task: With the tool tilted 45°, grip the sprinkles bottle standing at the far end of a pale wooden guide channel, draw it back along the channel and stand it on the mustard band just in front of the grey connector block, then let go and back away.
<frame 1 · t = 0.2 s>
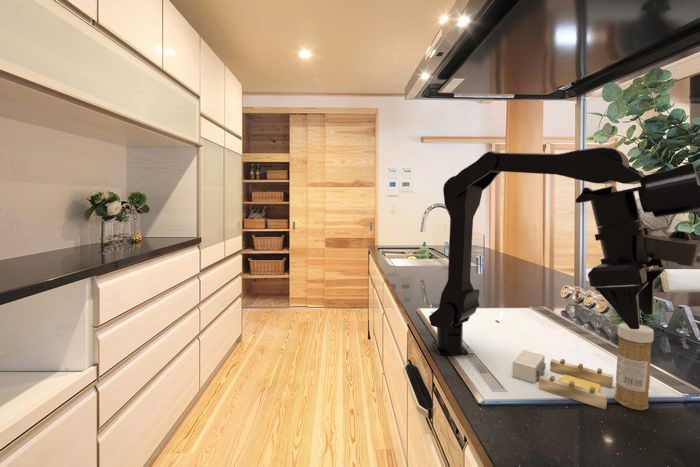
hand: (642, 321, 54), 15 cm above the counter, tool pointing down, fingers open, 9 cm apart
band: (578, 387, 64), on the counter
guide channel: (575, 386, 64), on the counter
sprinkles bottle: (630, 404, 59), on the counter
connector block: (528, 372, 69), on the counter
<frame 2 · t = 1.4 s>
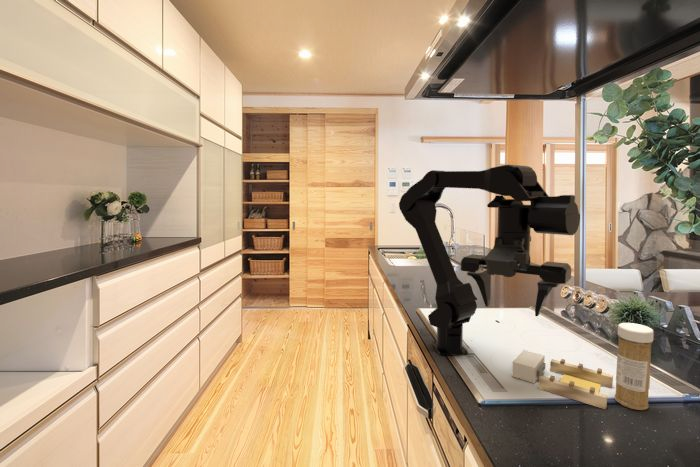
hand: (511, 310, 68), 13 cm above the counter, tool pointing down, fingers open, 9 cm apart
nothing on the counter moved.
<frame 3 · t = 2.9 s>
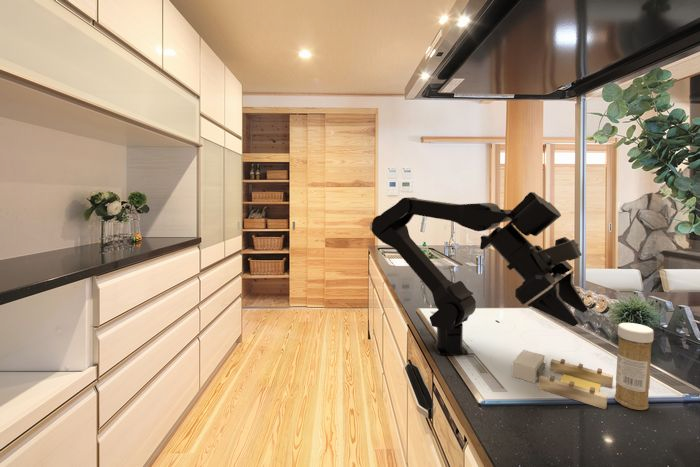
hand: (581, 317, 63), 13 cm above the counter, tool tilted 45°, fingers open, 9 cm apart
nothing on the counter moved.
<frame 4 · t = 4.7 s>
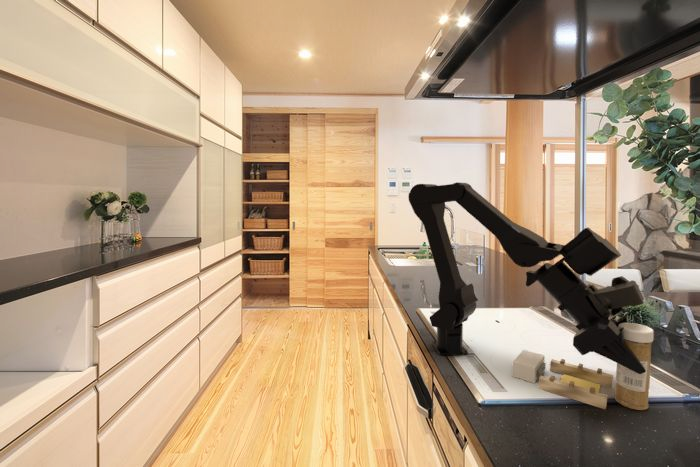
hand: (643, 367, 57), 7 cm above the counter, tool tilted 45°, fingers closed on sprinkles bottle, 4 cm apart
sprinkles bottle: (630, 404, 59), on the counter, touching gripper
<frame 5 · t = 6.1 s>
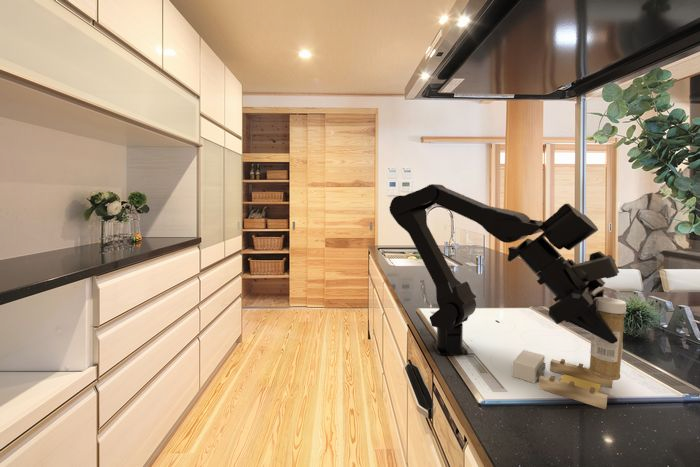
hand: (616, 337, 59), 11 cm above the counter, tool tilted 45°, fingers closed on sprinkles bottle, 4 cm apart
sprinkles bottle: (603, 376, 61), point 4 cm above the counter, touching gripper
when the fingers open (7 cm above the counter, at t = 7.8 s): sprinkles bottle stays where it is, resting on band.
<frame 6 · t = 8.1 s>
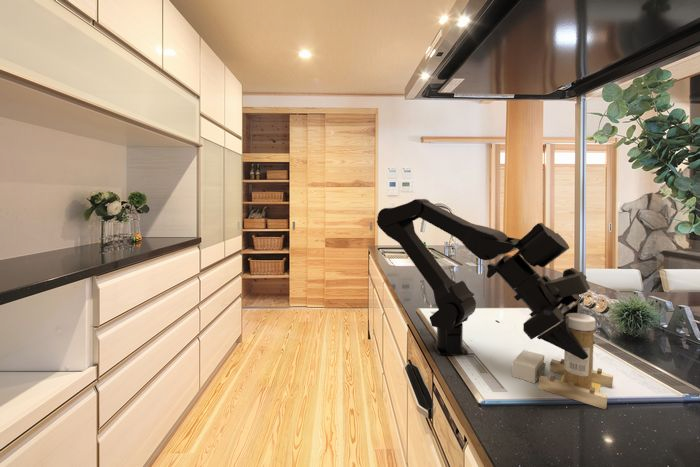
hand: (589, 351, 62), 7 cm above the counter, tool tilted 45°, fingers open, 7 cm apart
sprinkles bottle: (576, 388, 63), resting on band
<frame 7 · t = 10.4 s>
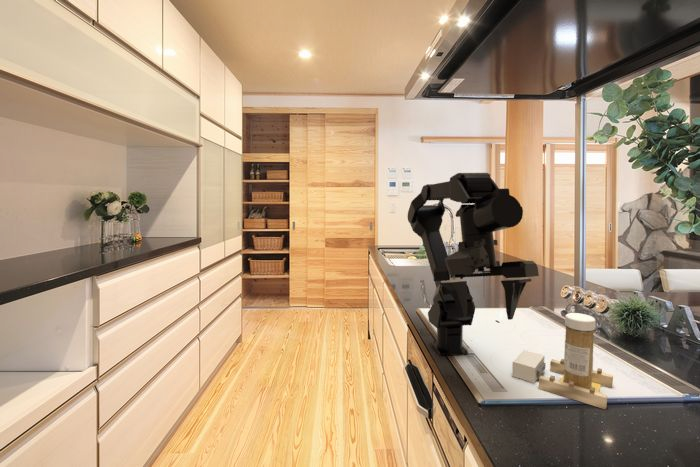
hand: (486, 318, 65), 13 cm above the counter, tool pointing down, fingers open, 9 cm apart
nothing on the counter moved.
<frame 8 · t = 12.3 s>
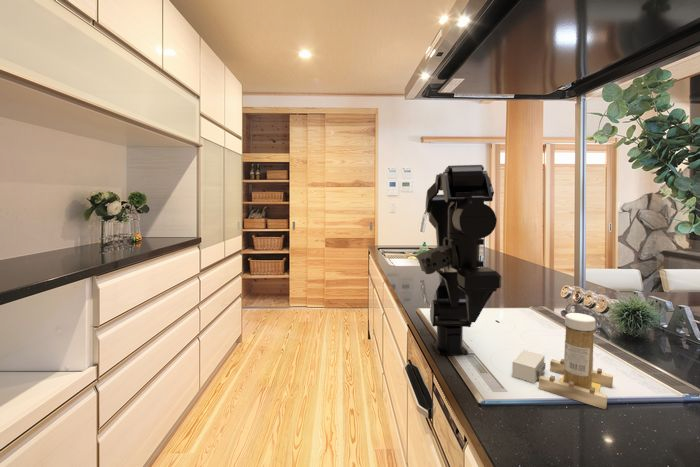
hand: (462, 313, 67), 13 cm above the counter, tool pointing down, fingers open, 9 cm apart
nothing on the counter moved.
at the end: sprinkles bottle 0.6 cm from the band (horizontally); sprinkles bottle tilted 0°; the gripper is holding nothing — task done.
